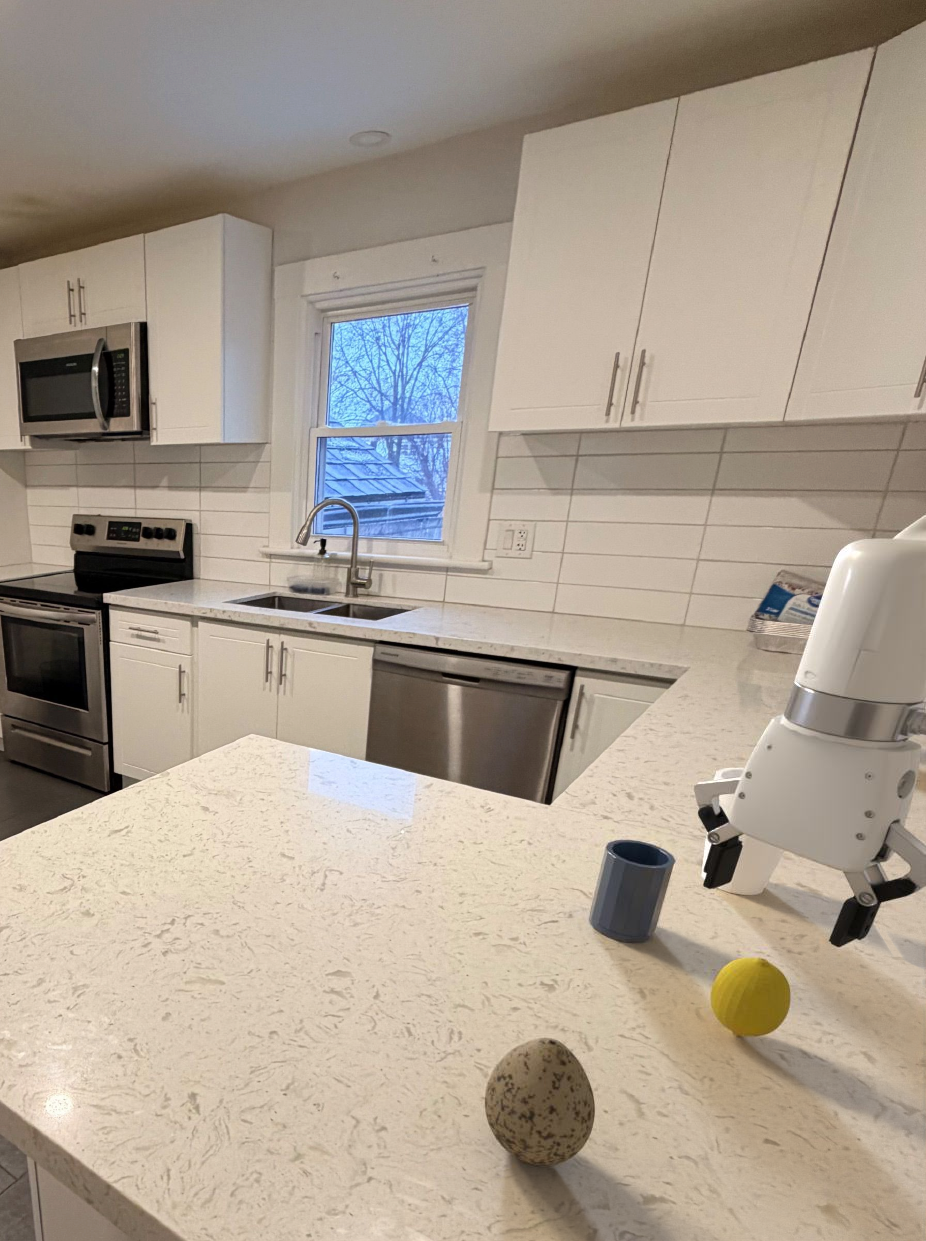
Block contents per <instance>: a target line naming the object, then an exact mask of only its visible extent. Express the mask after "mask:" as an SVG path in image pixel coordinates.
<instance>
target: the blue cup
mask: <svg viewBox="0 0 926 1241" xmlns="http://www.w3.org/2000/svg"><path fill="white" fill-rule="evenodd" d="M676 863H677V859H675V856H674V855H673V854H672V853H670V852H669V851H667V850H666V849H665V848H662V847H660V846H658V845H656V844H652V843H649V842H645V841H641V840H634V839H616V840H613V841H609V842H608V843H607V844H606V846H605V848H604V853H603V855H602V861H601V864H600V869H599V872H598V876H597V881H596V886H595V888H594V894H593V898H592V901H591V905H590V909H589V916H588V922H589V924H590V925H591V927H592V928H593V929H595V930H596V931H597V932H599V933H600V934H602V935H604V936H605V937H608V938H610V939H613V940H617V941H620V942H625V943H631V944H641V943H646V942H649V941H651V940H653V939H654V937H655V936H656V931H657V929H658V926H659V923H660V918H661V915H662V912H663V908H664V904H665V901H666V898H667V893H668V890H669V887H670V885H671V884H670V883H671V880H672V876H673V873H674V870H675V866H676Z"/></svg>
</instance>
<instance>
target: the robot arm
mask: <svg viewBox="0 0 926 1241" xmlns="http://www.w3.org/2000/svg"><path fill="white" fill-rule="evenodd" d="M829 572H830V573H829V575H828V578H827V581H826V585H825V587H824V590H823V593H822V596H821V599H820V602H819V605H818V609H817V611H816V615H815V618H814V620H813V624H812V626H811V629H810V632H809V635H808V639H807V640H806V644H805V647H804V650H803V653H802V655H801V656H802V657H801V660H800V662H799V666H798V669H797V671H796V675H795V678H794V680H793V684H792V685H791V686H792V687H791V690H790V693H789V695H788V699H787V702H786V705H785V708H784V711H783V713H780V714H778V715H775V716H773V717H772V719H771V720H770V722H769V723H768V725H767V727H766V728H765V730H764V732H763V733H762V735H761V736H760V738H759V740H758V741H757V744H756V745H755V747H754V749H753V750H752V752H751V754H750V756H749V759H748V761H747V763H746V765H745V767H744V768H745V769H744V771H743V774H742V776H741V777H736V778H728V779H719V780H714V779H712V780H706V781H705V780H704V781H701V782H698V783H695V784H694V786H693V790H694V796H695V800H696V806H697V807H698V810H697V816H698V818H699V820H700V822H701V824H702V825H703V827H704V829H705V831H706V835H707V840H708V841H709V843H711V847H710V850H709V853H708V856H707V860H706V863H705V866H704V870H703V871H704V872H705V873H707V874H706V877H705V880H704V879H703V883H702V887H704V888H706V889H708V890H715V889H718V888H717V887H720V886H722V885H725V884H727V883H730V882H731V880H732V878H733V875H734V872H735V869H736V866H737V863H738V860H739V857H740V854H741V851H742V848H743V845H742V841H740V840H739V836H741V835H743V834H745V835H747V836H749V837H752V838H754V839H757V840H759V841H762V842H764V843H767V844H770V845H772V846H775V847H777V848H780V849H782V850H785V851H784V852H787V853H790V854H792V855H796V856H798V857H801V858H804V859H806V860H809V861H811V862H814V863H817V864H820V865H822V866H825V867H827V868H830V869H834V870H835V871H840V872H843V875H844V876H845V879H846V880H847V883H848V884H849V887H850V889H851V891H852V892H853V896H851V897H848V898H847V899H845V900H844V902H843V903H842V906H841V909H840V912H839V914H838V916H837V919H836V921H835V923H834V926H833V928H832V932H831V933H830V936H829V939H828V942H830V944H831V945H832V946H834V947H836V948H841V947H844V946H845V945H847V944H850V943H851V942H853V941H855V940H857V941H861V940H863V939H865V938H866V937H867V936H868V934H869V932H870V930H871V928H872V926H873V923H874V922H875V918H876V916H877V914H878V911H879V910H880V907H881V905H882V903H885V902H886V903H887V902H890V901H893V900H897V899H901V898H906V897H908V896H911V895H912V894H915V893H917V892H919V891H921V890H922V889H923V888H925V887H926V844H925V843H923V842H922V841H921V840H920V839H919V838H918V837H916V836H915V835H914V834H913V833H911V832H910V830H908V829H907V828H905V825H906V823H907V818H908V816H909V812H910V808H911V805H912V801H913V798H914V797H913V796H914V793H915V789H916V785H917V780H918V775H919V771H920V764H921V756H922V745H921V744H920V743H918V742H916V741H913V740H910V738H912V737H914V736H921V735H924V736H926V701H925V699H926V514H925V515H923V516H922V517H920V518H918V519H917V520H915V521H914V522H913V523H912V524H910V525H908V526H907V527H905V528H904V529H903V530H901V531H900V532H898V534H896V535H895V536H893V538H881V537H880V538H879V537H878V538H863V539H859V540H855V541H851V543H848V544H847V545H846V546H844V547H843V548H842V549H841V550H840V551H839V552H838V554H837V556H836V557H835V559H834V561H833V564H832V566H831V569H830V571H829ZM734 793H735V794H734ZM724 794H734V797H733V799H732V803H731V806H730V810H729V816H728V817H727V816H726V814H725V812H724V810H723V809H722V807H721V806H720V805H719V802H720V801H719V796H720V795H724ZM728 818H729V819H728ZM707 832H708V834H707ZM894 854H897V856H899V857H900V858H901V859H902V860H903V861H904V862H905V863H907V865H908V866H909V867H910V868H909V869H910V870H909V871H908V872H907V873H906V874H904V875H903V876H902V877H898V878H894V879H891V880H890V879H889V877H888V876H887V873H886V872H885V870H884V868H883V865H882V864H881V863H886V862H888V861H889V860H890V859H891V858H892V857H893V856H894Z"/></svg>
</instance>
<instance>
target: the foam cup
mask: <svg viewBox="0 0 926 1241" xmlns="http://www.w3.org/2000/svg"><path fill="white" fill-rule="evenodd" d="M744 769H745V767H725V768H721V769H717V770H716V772H715V775H714V777H713V780H719V779H728V778H736V777H741V776H742V774H743V771H744ZM734 794H735V793H734ZM734 794H724V795H720V796H719V801H720V802H719V805H720V806H721V807H722V809H723V810H724V812H725V814H726V816H727V817H728V816H729V810H730V806H731V803H732V799H733V797H734ZM728 819H729V818H728ZM707 834H708V832H707V831H706V835H705V836H706V837H705V844H704V852H703V860H702V868H701V878H702V879H703V881H704V880H705V877H706V874H707V873H705V872H704V871H703V870H704V866H705V863H706V860H707V856H708V853H709V850H710V847H711V843H709V841H708V840H707ZM739 840H740V841H742V845H743V848H742V851H741V854H740V857H739V860H738V863H737V866H736V869H735V872H734V875H733V878H732V880H731V882H730V883H727V884H725V885H722V886H720V887H717V888H716V889H718V890H721V891H724V892H727V893H730V894H736V895H741V896H757V895H759V894H762V893H763V892H764V889H766V887H767V885H768V883H769V881H770V879H771V878H772V876H773V874H774V872H775V870H776V868H777V866H778V864H779V862H780V861H781V859H782V857H783V855H784V853H785V852H786V851H785V850H782V849H780V848H777V847H775V846H772V845H770V844H767V843H764V842H762V841H759V840H757V839H754V838H752V837H749V836H747V835H745V834H743V835H741V836H739Z"/></svg>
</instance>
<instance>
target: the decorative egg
mask: <svg viewBox="0 0 926 1241" xmlns="http://www.w3.org/2000/svg"><path fill="white" fill-rule="evenodd" d="M484 1110H485V1115H486V1120H487V1123H488V1126H489V1128H490V1131H491V1132H492V1135H493V1136H494V1138H495V1139H496V1140H497V1142H498V1143H499V1145H500V1146H501V1147H502V1148H503V1149H505V1150H506V1151H507V1152H508V1153H509V1154H510V1155H512V1156H513V1157H515V1158H516V1159H519V1160H521V1161H522V1162H525V1163H527V1164H531V1165H535V1166H549V1167H550V1166H555V1165H559V1164H562V1163H565V1162H566V1161H569V1160H570V1159H572V1158H573V1157H575V1156H576V1155H577V1154H579V1153H580V1151H581V1150H582V1149H583V1148H584V1146H585V1145H586V1143H587V1142H588V1140H589V1138H590V1136H591V1133H592V1130H593V1127H594V1123H595V1118H596V1104H595V1097H594V1091H593V1089H592V1085H591V1082H590V1079H589V1077H588V1075H587V1072H586V1071H585V1069H584V1067H583V1065H582V1064H581V1062H580V1061H579V1059H578V1058H577V1057H576V1055H575V1054H574V1053H573V1052H572V1050H570V1049H569V1048H568V1047H567V1046H566V1045H565V1044H564V1043H563V1042H561V1041H559V1040H558V1039H555V1038H551V1037H540V1038H535V1039H532V1040H528V1041H526V1042H523V1043H521V1044H519V1045H517V1046H515V1047H514V1048H513V1049H511V1050H510V1051H508V1052H507V1053H506V1054H505V1055H504V1056H503V1057H502V1058H501V1059H500V1060H499V1062H497V1064H496V1066H495V1067H494V1068H493V1070H492V1071H491V1074H490V1076H489V1078H488V1081H487V1084H486V1087H485V1091H484Z"/></svg>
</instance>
